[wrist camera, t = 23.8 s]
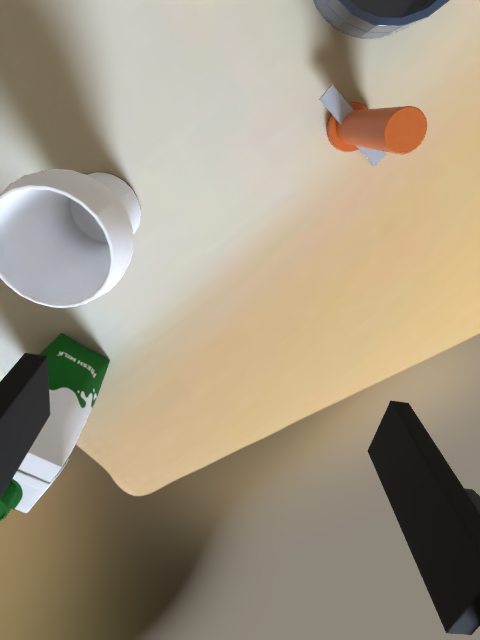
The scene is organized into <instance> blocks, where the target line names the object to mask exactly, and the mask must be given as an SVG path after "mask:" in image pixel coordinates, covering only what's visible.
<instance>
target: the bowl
mask: <svg viewBox="0 0 480 640" xmlns="http://www.w3.org/2000/svg"><path fill="white" fill-rule="evenodd" d="M313 1H314V3H315V5H316V7H317V9H318V10H319V12H320V13H321V15H322V16H323V17H324V18H325V19H326V20H327V21H328V22H329V23H330V24H331V25H332V26H333V27H335V28H336V29H337V30H339V31H341V32H343V33H344V34H347V35H350V36H352V37H357V38H362V39H373V38H381V37H384V36H388V35H391V34H393V33H395V32H398V31H401V30H403V29H405V28H407V27H409V26H411V25H413V24H415V23H417V22H419V21H421V20H423V19H425V18H427V17H429V16H430V15H431V14H432V13H434V12H435V11H436V10H438V9H439V8H440V7H442V6H443V5H444V4H445V3H447V2H448V1H449V0H313Z"/></svg>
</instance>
